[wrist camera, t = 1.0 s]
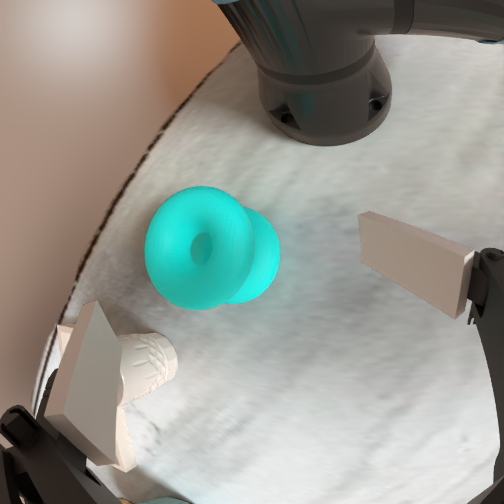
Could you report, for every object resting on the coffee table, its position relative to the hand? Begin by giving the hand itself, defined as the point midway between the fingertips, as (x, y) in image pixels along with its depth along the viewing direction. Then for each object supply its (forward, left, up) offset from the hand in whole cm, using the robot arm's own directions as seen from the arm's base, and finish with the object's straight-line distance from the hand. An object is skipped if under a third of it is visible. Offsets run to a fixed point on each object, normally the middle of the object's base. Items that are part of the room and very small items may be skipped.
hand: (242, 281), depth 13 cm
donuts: (-3, -7, -16) cm, 18 cm away
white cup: (+9, -19, -16) cm, 27 cm away
